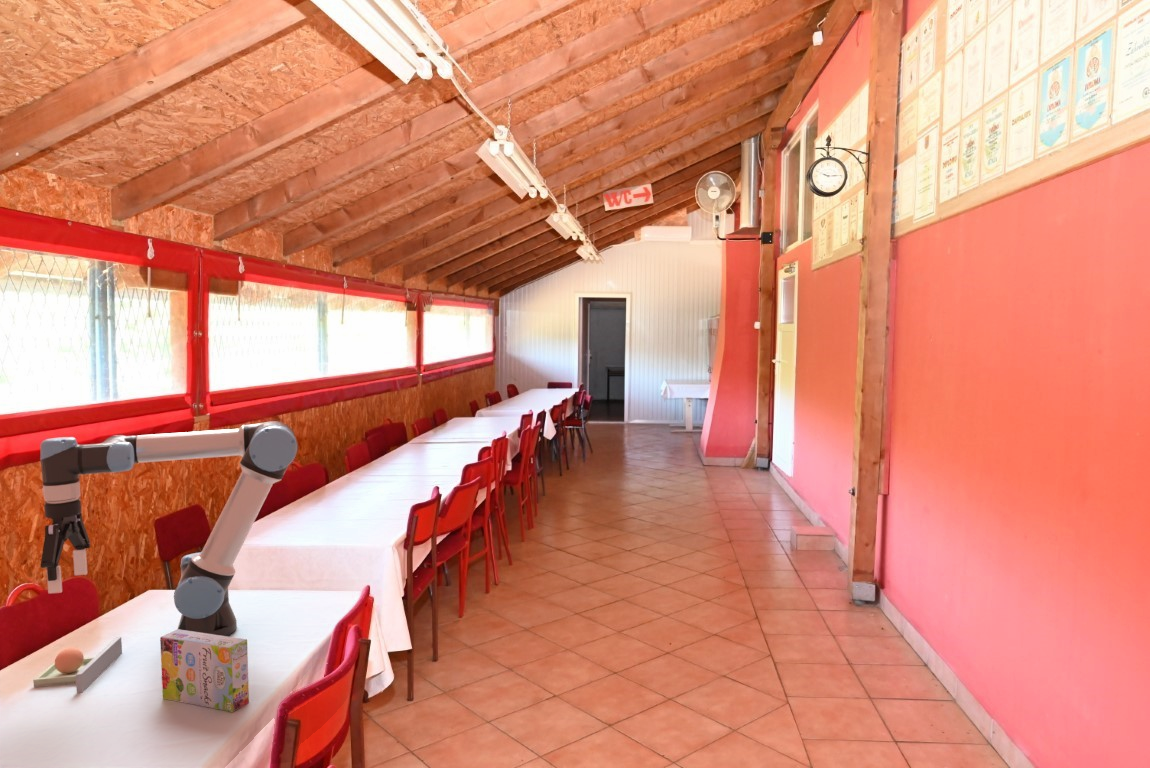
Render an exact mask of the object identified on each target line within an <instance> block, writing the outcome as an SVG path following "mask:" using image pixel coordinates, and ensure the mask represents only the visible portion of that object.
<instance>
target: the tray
mask: <svg viewBox="0 0 1150 768" xmlns="http://www.w3.org/2000/svg"><path fill="white" fill-rule="evenodd" d="M94 657H95V656H91V657H84V660H83V663H82V665H81V666H80V668H79V669H77V670H76V671H74V672H72V673H61V672H59V671H58V670H57V669H56V667H55V661H54V662H53V663H52V664H50V665H49V666H48V667H47V668H46V669H44V670H43V671H42V672H41V673H39V674H38V675H37V676H36V677H35V678H34V679H33V688H38V686H40V687H48V686H51V685H52V686H61V685H63V686H64V685H72V684H76V674H77V673H78V672H79V671H80V670H81V669H82V668H84V667H85V666H86V665H87V664H88V663H89V662H90V661H91V660H92V659H93V658H94ZM52 686H51V687H52Z"/></svg>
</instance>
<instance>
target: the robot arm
mask: <svg viewBox="0 0 1150 768" xmlns="http://www.w3.org/2000/svg"><path fill="white" fill-rule="evenodd" d="M297 453H298V441H297V438H296V434H295V433H294V431H293V429H292V428H291V427H290V426H289V425H287V424H286V423H284V422H282V421H275V420H271V421H266V422H259V423H252V424H242V425H241V426H240V427H239V428H232V429H230V428H229V429H215V430H201V431H188V432H187V431H185V432H171V433H155V434H153V433H151V434H141V435H123V434H120V435H119V434H118V435H117V434H116V435H111V436H109V437H108V438H106V439H105V440H104V441H102V442H100V443H90V444H78V441H77V438H75V437H74V436H63V437H53V438H52V437H51V438H46V439H44V440H43V441H41V443H40V458H39V460H40V466H41V476H42V488H41V491H42V492H43V501H45V503H44V504H43V507H44V517H45V518H47V519H50V520H52V524H50V525H49V524H48V525H47V524H46V525H45V527H44V540H43V547H42V553H41V560H40V568H41V569H46V579H47V593H48V594H60V593H62V592H63V583H62V570H61V569H62V567H61V565H59V563H60V560H61V555H62V553H63V552H62V551H63V549H64V545H65V542H66V541H68V540H69V542H70V544H71V545H72V547H73V549H74V550H72V557H73V559H72V560H73V569H74V570H73V571H74V573H73V574H74V576H81V575H82V576H83V575H84V576H86V575H88V563H87V549H90V548H91V541H90V538H89V535H88V532H87V530H86V525H85V524H84V520H83V514H82V499H80V497H81V496H82V495H81V483H80V475H82V476H83V475H91V474H92V475H93V474H107V473H109V474H110V473H115V474H116V473H117V474H118V473H120V472H128V471H131V470H133V468H134V466H135V465H134V464H139V463H140V464H141V463H152V462H154V463H156V462H166V461H167V462H168V461H180V460H181V461H182V460H194V459H195V460H196V459H205V458H207V459H208V458H219V457H220V458H221V457H222V458H224V457H235V456H240V457H241V460H240V462H239V465H240V468H241V472H240V475H239V476H238V479H237V481H236V483H235V484H234V487H233V488H232V491H231V493H230V494H229V497H228V499H227V501H226V502H225V505H224V507H223V509H222V510H221V512H220V514H219V517H218V518H217V520H216V522H215V524H214V526H213V528H212V531H211V532H210V534H209V536H208V538H207V540H206V543H205V544H204V546H203V548H202V550H201V552H195V553H190V554H186V555H184V556H183V557H181V560H180V570H181V571H180V573H181V575H180V577H179V578H180V579H179V581H178V584H177V586H176V588H175V590H174V592H173V593H174V594H173V601H174V606H175V608H176V610H177V611H178V612H179V613H180V614H181V617H180V619H179V622H178V626H177V629H180V630H187V631H194V632H200V633H207V634H214V635H221V636H227V637H229V636H230V635H231V634H233V633H234V632H235V631H236V630H237V628H238V627H237V618H236V616H235V613H234V611H233V609H232V606H231V604H230V598H229V596H230V595H229V587H230V584H231V582H232V581H233V579H234V576H235V575H236V569H235V565H234V564H235V561H236V559H237V557H238V555H239V553H240V551H241V549H242V546H244V543H245V541H246V539H247V537H248V535H249V533H250V531H251V529H252V527H253V525H254V524H255V521H256V519H257V517H258V515H259V513H260V511H261V509H262V507H263V505H264V503H265V501H266V499H267V497H268V495H269V493H270V491H271V488H272V487H273V484H275V483H277V482H280V481H282V479H283V478H284V475H285V473H286V471H287V469H288V468H289V466H290V465H291V464H292V462H294V460H295V458H296V456H297Z"/></svg>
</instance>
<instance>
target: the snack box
mask: <svg viewBox="0 0 1150 768" xmlns="http://www.w3.org/2000/svg"><path fill="white" fill-rule="evenodd" d="M159 641H160V658H161V659H160V660H161V661H160V662H161V664H160V665H161V684H162V685H161V686H162V687H161V690H162V699H163V700H164V699H165V700H168V701H169V700H170V701H174V702H175V701H176V702H181V703H183V704H184V703H186V704H190V705H194V706H200V707H206V708H210V709H214V710H215V709H216V710H220V711H226V712H231V713H234V712H235V711H237V710H239V709H241V708H243V707H244V706H245V705H247V704H249V702H250V696H249V695H250V691H249V689H250V688H249V661H248V660H249V659H248V658H249V657H248V639H246V638H241V637H233V636H221V635H214V634H207V633H200V632H194V631H187V630H180V629H178V628H177V629H175V630H173V631H171V632H168V633H166V634H164V635H161V636H160V639H159Z"/></svg>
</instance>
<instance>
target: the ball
mask: <svg viewBox="0 0 1150 768" xmlns="http://www.w3.org/2000/svg"><path fill="white" fill-rule="evenodd" d="M84 658H85V657H84V653H83V652H82V651H81V650H80V649H79V648H76V647H68V648H65V649H62V650H61V651H60V652H59V653H58V654H57V655H56V657H55V659H54V662H55V667H56V669H57V670H58V671H59V672H61V673H72V672H74V671H76V670H77V669H79V668H80V666H81V665H82V663H83V660H84Z"/></svg>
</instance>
